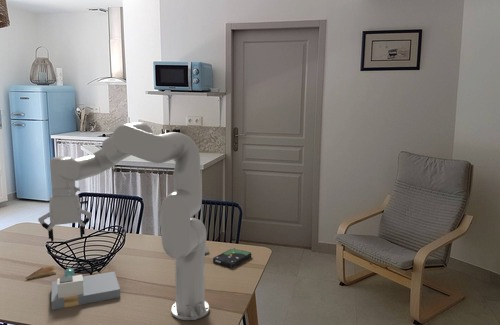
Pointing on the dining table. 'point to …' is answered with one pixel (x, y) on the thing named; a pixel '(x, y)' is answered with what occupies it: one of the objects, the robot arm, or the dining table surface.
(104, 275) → the subfloor panel
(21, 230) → the dining table surface
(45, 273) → the shard
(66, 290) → the white rectangular block
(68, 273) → the green silver cylinder
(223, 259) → the disk drive
